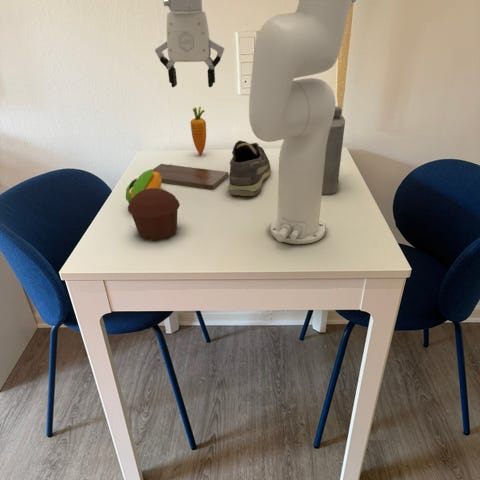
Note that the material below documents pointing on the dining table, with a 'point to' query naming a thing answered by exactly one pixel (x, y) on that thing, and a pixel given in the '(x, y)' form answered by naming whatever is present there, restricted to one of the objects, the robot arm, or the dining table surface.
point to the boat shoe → (248, 169)
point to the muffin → (154, 213)
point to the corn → (143, 183)
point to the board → (190, 176)
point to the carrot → (198, 130)
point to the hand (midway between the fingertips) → (192, 86)
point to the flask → (333, 153)
